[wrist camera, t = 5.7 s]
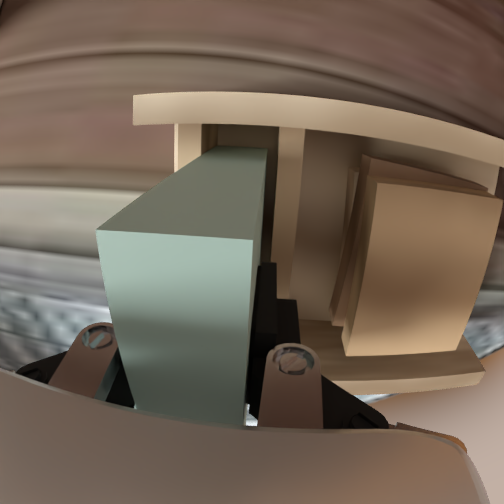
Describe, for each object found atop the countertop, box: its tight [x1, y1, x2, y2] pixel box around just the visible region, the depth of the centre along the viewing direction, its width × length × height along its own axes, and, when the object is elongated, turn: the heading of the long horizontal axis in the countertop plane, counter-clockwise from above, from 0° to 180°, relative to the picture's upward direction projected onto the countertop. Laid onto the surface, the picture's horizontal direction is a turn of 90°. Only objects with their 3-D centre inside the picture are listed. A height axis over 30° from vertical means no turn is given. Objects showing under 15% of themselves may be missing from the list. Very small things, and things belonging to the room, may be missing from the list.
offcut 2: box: [341, 175, 503, 356], centre depth 14 cm, size 9×7×2 cm
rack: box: [133, 92, 504, 395], centre depth 16 cm, size 14×20×7 cm
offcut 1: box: [329, 154, 488, 326], centre depth 16 cm, size 9×7×2 cm
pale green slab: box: [96, 146, 268, 425], centre depth 12 cm, size 9×3×12 cm, turn 177°
